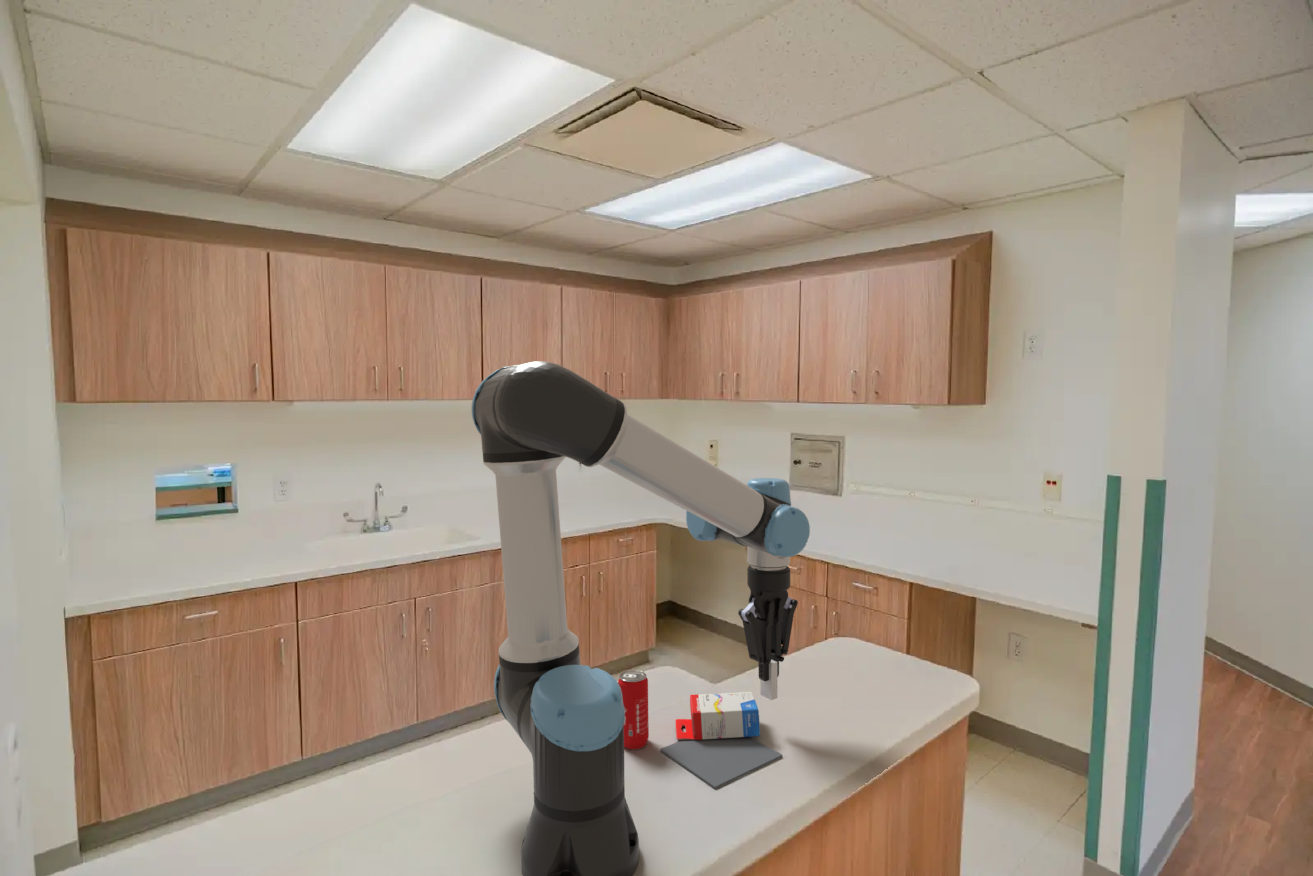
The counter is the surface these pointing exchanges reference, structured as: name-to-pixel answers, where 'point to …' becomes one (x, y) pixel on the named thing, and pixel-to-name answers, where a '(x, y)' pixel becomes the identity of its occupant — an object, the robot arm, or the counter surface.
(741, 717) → the ink box
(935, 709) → the counter surface
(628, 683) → the beverage can
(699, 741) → the mat
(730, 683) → the counter surface
